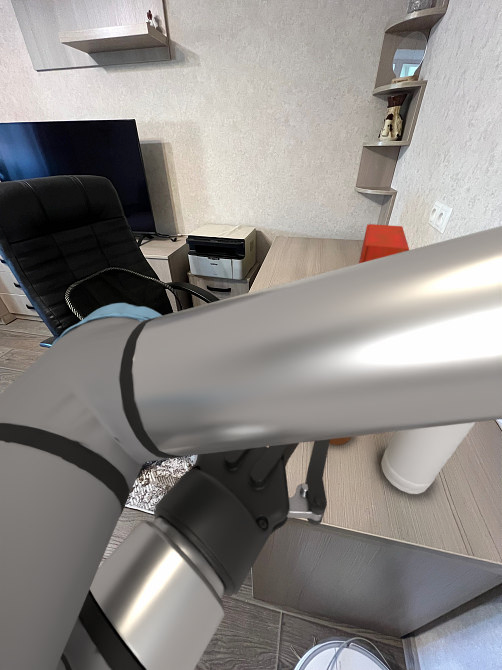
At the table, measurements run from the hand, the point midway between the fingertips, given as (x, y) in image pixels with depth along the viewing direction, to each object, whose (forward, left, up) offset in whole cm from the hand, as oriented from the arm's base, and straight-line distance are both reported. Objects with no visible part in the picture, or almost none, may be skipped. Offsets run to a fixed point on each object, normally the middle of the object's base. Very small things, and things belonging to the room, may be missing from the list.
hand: (328, 362), depth 34 cm
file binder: (+37, -13, -26) cm, 48 cm away
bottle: (+3, -17, -26) cm, 32 cm away
